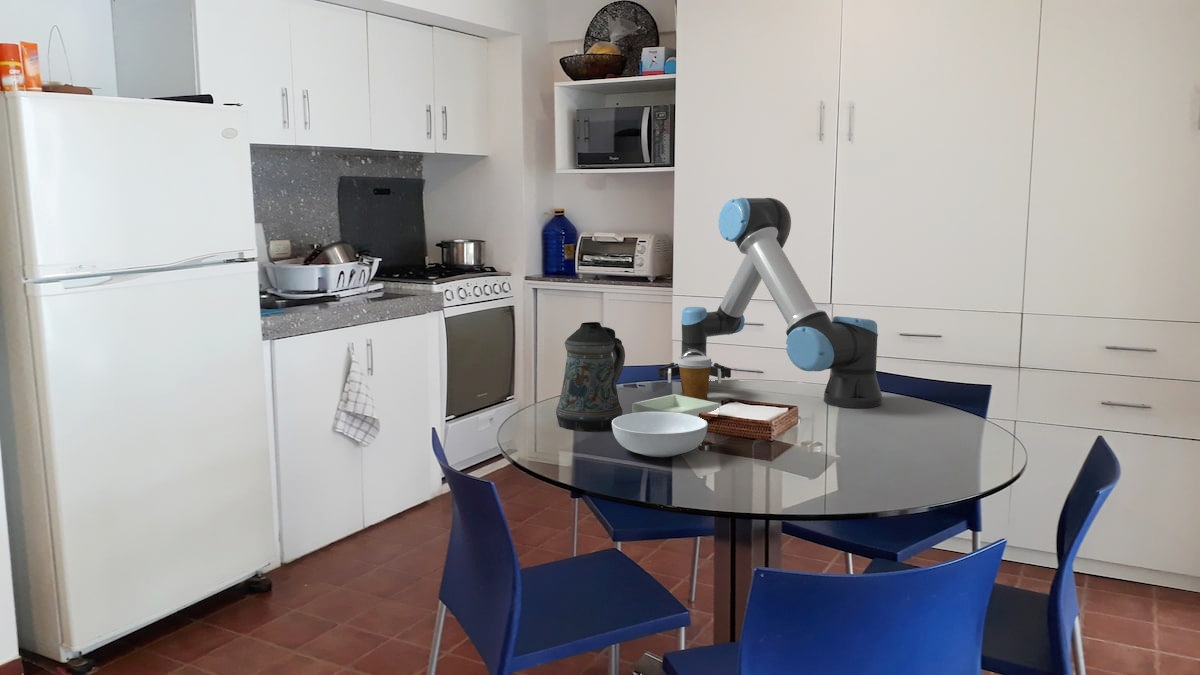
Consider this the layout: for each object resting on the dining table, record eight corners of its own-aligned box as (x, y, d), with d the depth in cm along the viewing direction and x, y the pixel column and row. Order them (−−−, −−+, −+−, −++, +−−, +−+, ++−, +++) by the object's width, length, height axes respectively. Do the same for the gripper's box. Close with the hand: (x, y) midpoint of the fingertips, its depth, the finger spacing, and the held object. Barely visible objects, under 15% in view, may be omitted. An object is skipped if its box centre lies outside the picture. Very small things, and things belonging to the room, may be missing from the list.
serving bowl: (719, 462, 187) (719, 430, 186) (621, 468, 183) (621, 435, 182) (693, 437, 207) (693, 408, 206) (604, 442, 204) (604, 412, 203)
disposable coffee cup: (711, 397, 249) (712, 355, 247) (712, 405, 240) (712, 361, 238) (677, 397, 250) (677, 355, 248) (677, 404, 241) (677, 361, 239)
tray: (719, 416, 226) (719, 403, 226) (676, 427, 216) (676, 413, 216) (674, 406, 238) (674, 394, 237) (632, 416, 228) (632, 403, 227)
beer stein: (547, 429, 216) (545, 327, 212) (571, 411, 234) (569, 317, 230) (613, 433, 211) (612, 329, 208) (632, 414, 230) (631, 318, 226)
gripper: (736, 376, 261) (740, 391, 241) (651, 376, 264) (648, 391, 243) (737, 351, 260) (741, 364, 239) (651, 351, 263) (648, 364, 242)
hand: (694, 378), depth 241 cm, fingers open, 13 cm apart
